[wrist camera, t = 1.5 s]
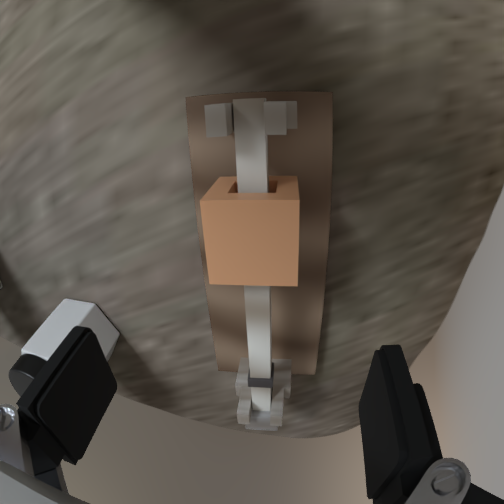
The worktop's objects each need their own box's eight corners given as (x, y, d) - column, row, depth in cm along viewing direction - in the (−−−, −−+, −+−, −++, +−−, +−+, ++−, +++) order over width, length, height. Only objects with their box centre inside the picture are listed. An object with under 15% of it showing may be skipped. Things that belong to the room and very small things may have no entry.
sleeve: (219, 176, 20) (199, 200, 16) (297, 175, 20) (299, 199, 15) (225, 245, 23) (209, 284, 18) (296, 246, 22) (297, 286, 18)
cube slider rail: (191, 97, 21) (144, 99, 14) (329, 92, 20) (352, 89, 13) (222, 370, 34) (207, 432, 27) (313, 374, 33) (314, 438, 25)
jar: (110, 362, 36) (71, 435, 26) (59, 329, 35) (11, 394, 24) (127, 321, 32) (77, 405, 22) (67, 283, 31) (4, 354, 20)
